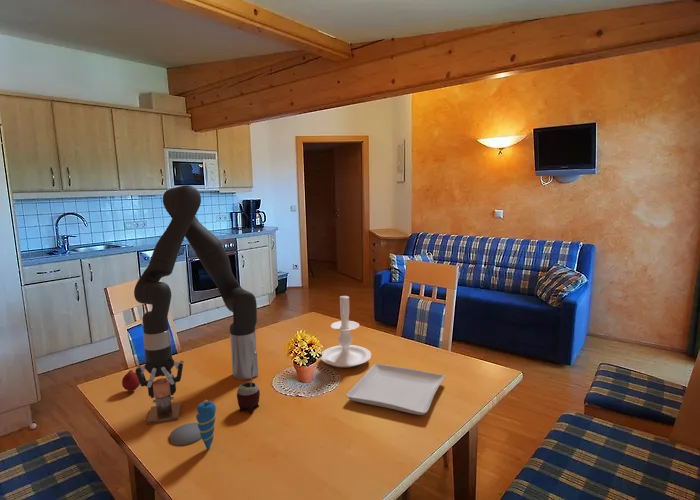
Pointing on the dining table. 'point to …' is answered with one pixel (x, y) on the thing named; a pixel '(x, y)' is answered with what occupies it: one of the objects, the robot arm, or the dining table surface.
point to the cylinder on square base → (164, 410)
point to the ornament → (206, 421)
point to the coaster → (185, 434)
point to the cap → (161, 388)
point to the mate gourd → (248, 394)
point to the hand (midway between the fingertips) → (162, 395)
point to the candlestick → (345, 342)
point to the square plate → (397, 388)
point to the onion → (130, 381)
